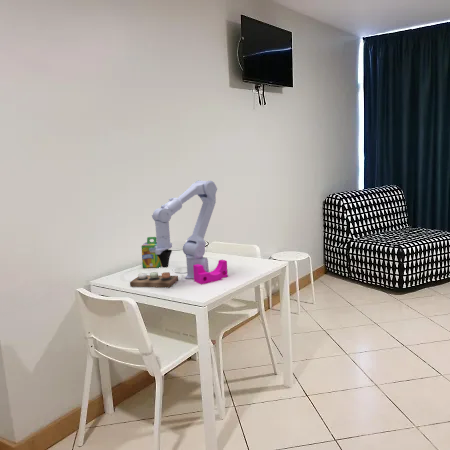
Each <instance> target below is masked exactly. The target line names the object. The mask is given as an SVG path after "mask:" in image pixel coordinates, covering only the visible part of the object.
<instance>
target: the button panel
mask: <svg viewBox="0 0 450 450" xmlns="http://www.w3.org/2000/svg"><path fill="white" fill-rule="evenodd" d="M146 275H147V274H146ZM178 281H179V275H170V277H169V278H162V275H158V277H156V278H150V274H148V275H147V278H145V279H139V278H138V276H137V277H136V278H134V279H132V280H131V281H129V287H132V288H165V287H166V288H167V287H170V288H171V287H172V286H173V285H175V284H176V283H177V282H178Z"/></svg>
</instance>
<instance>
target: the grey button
mask: <svg viewBox="0 0 450 450" xmlns="http://www.w3.org/2000/svg"><path fill="white" fill-rule="evenodd" d="M137 277H138V278H139V279H145V278H147V273H145V272H144V273H139V274H138V275H137Z"/></svg>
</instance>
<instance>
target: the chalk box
mask: <svg viewBox="0 0 450 450" xmlns="http://www.w3.org/2000/svg"><path fill="white" fill-rule="evenodd" d="M151 240H153V241H151ZM155 246H157V239H156V236H148V237H147V238H146V242H144V243H143V244H142V245H141V262H142V265H141V266H142V269H153V268H154V269H155V268H156V269H160V268H161V267H162V264H161V261H160V259H159V257H158V255H157V254H155V250H156V248H155ZM159 267H160V268H159Z"/></svg>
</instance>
